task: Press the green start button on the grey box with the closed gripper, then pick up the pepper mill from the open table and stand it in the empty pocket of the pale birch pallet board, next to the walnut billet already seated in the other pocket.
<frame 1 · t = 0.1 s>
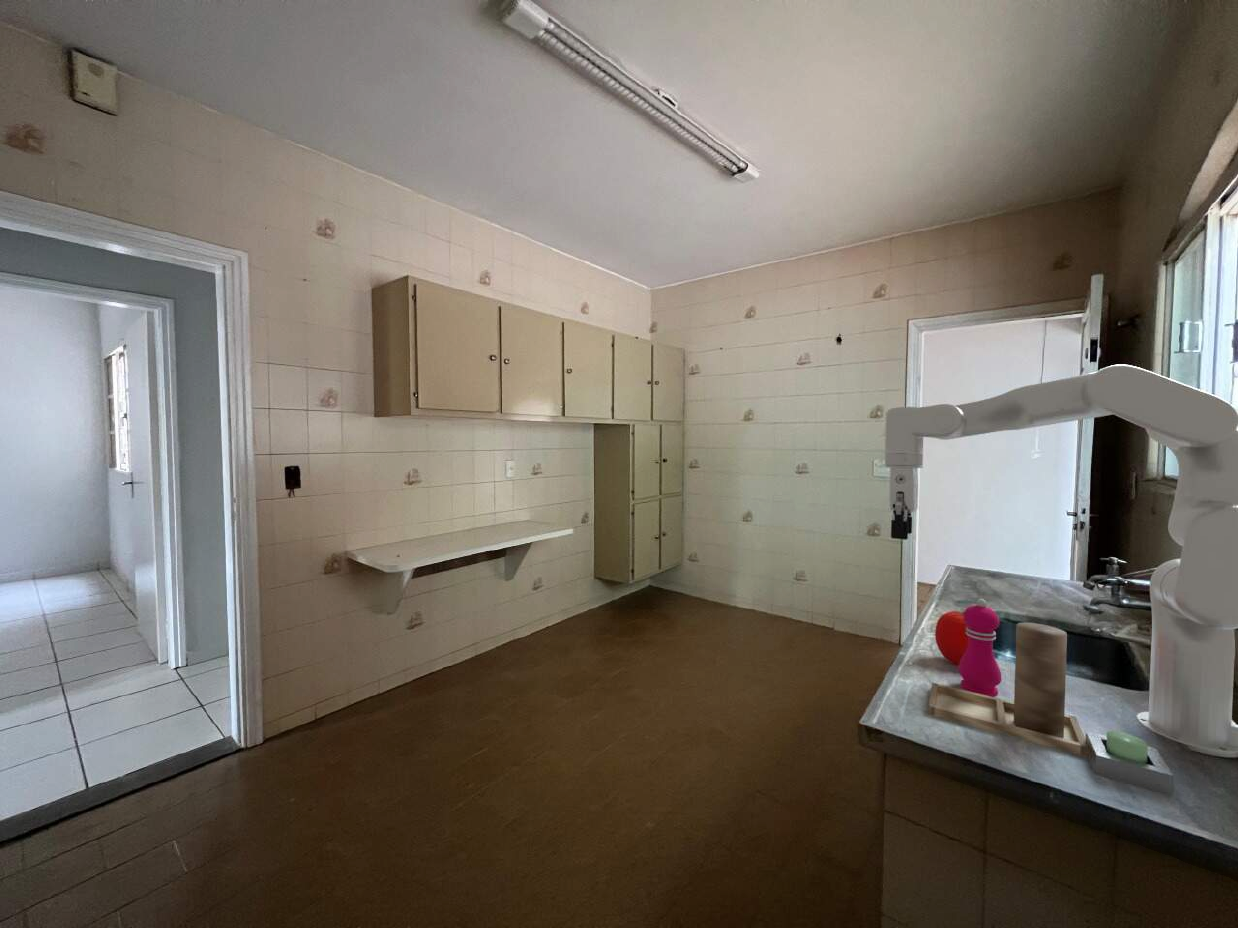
hand: (901, 535, 112), 31 cm above the worktop, tool pointing down, fingers open, 9 cm apart
button box: (1125, 776, 76), on the worktop
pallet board: (1000, 724, 90), on the worktop
seated billet: (1037, 728, 87), point 1 cm above the worktop, touching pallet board
start button: (1126, 751, 76), point 4 cm above the worktop, slide at 0.0 cm
pepper mill: (978, 694, 102), on the worktop
tomato: (961, 665, 116), on the worktop
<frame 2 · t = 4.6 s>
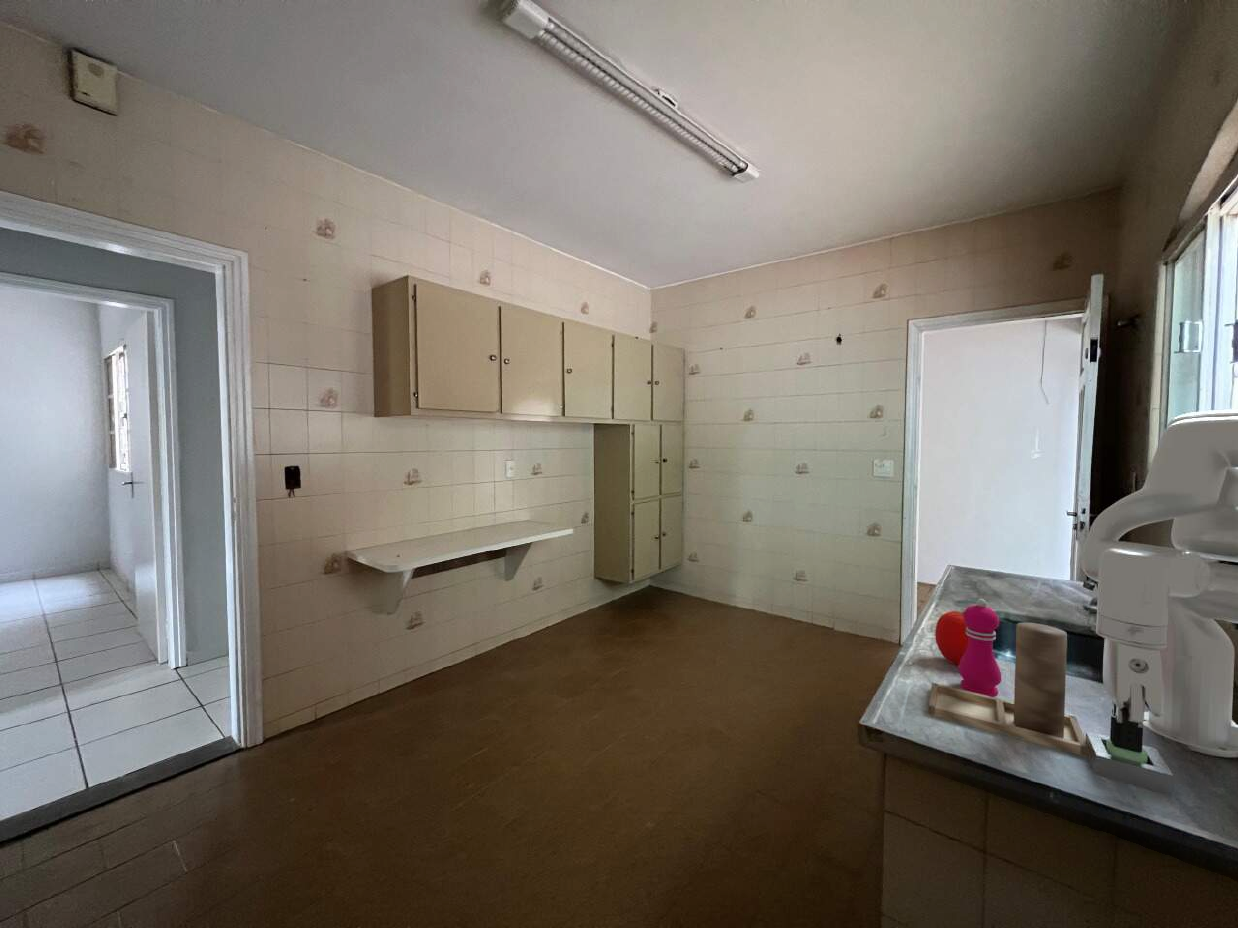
hand: (1125, 746, 75), 5 cm above the worktop, tool pointing down, fingers closed
start button: (1126, 759, 76), point 3 cm above the worktop, slide at 1.2 cm
everything else where it was.
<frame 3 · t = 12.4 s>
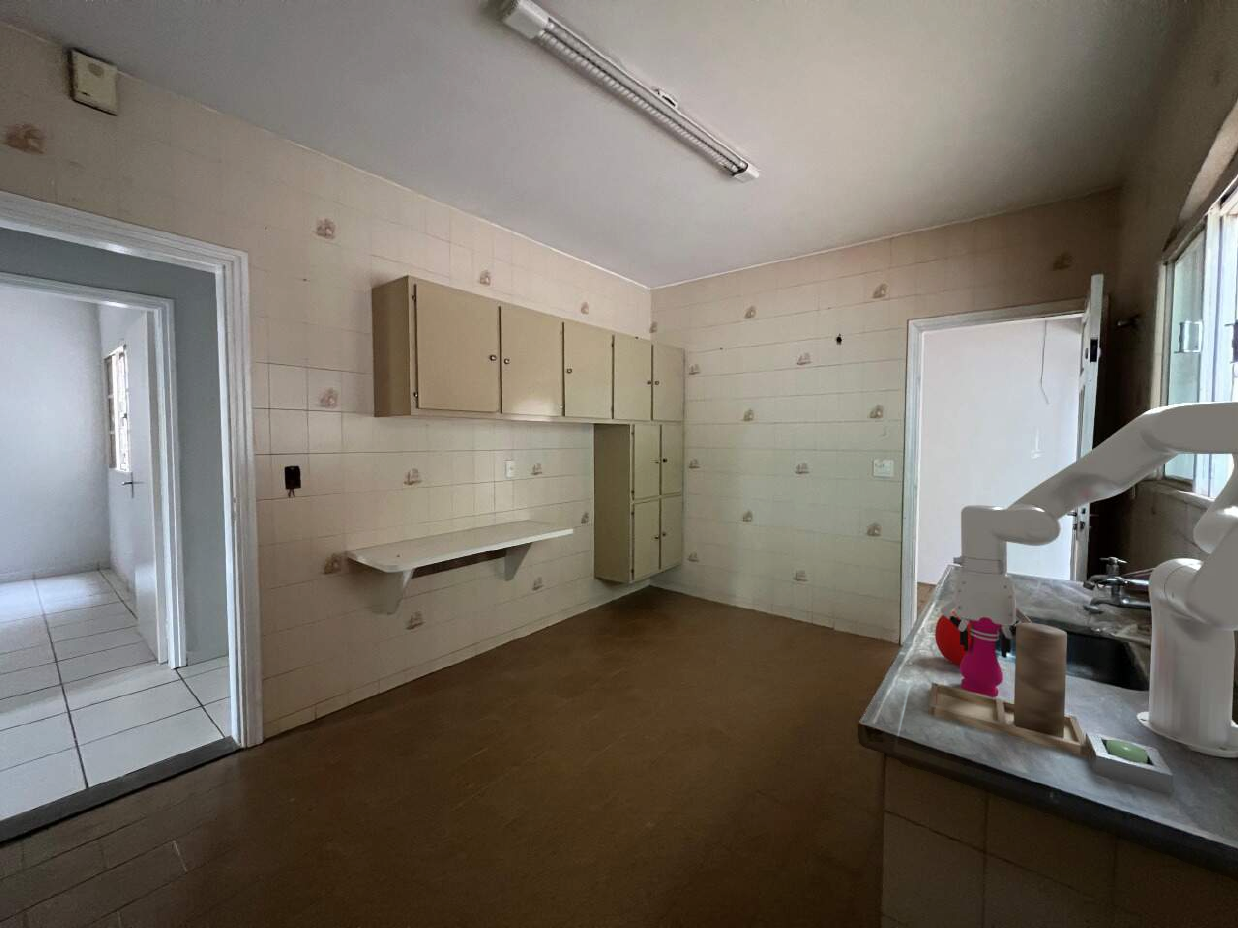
hand: (984, 651, 101), 9 cm above the worktop, tool pointing down, fingers open, 5 cm apart
nothing on the worktop moved.
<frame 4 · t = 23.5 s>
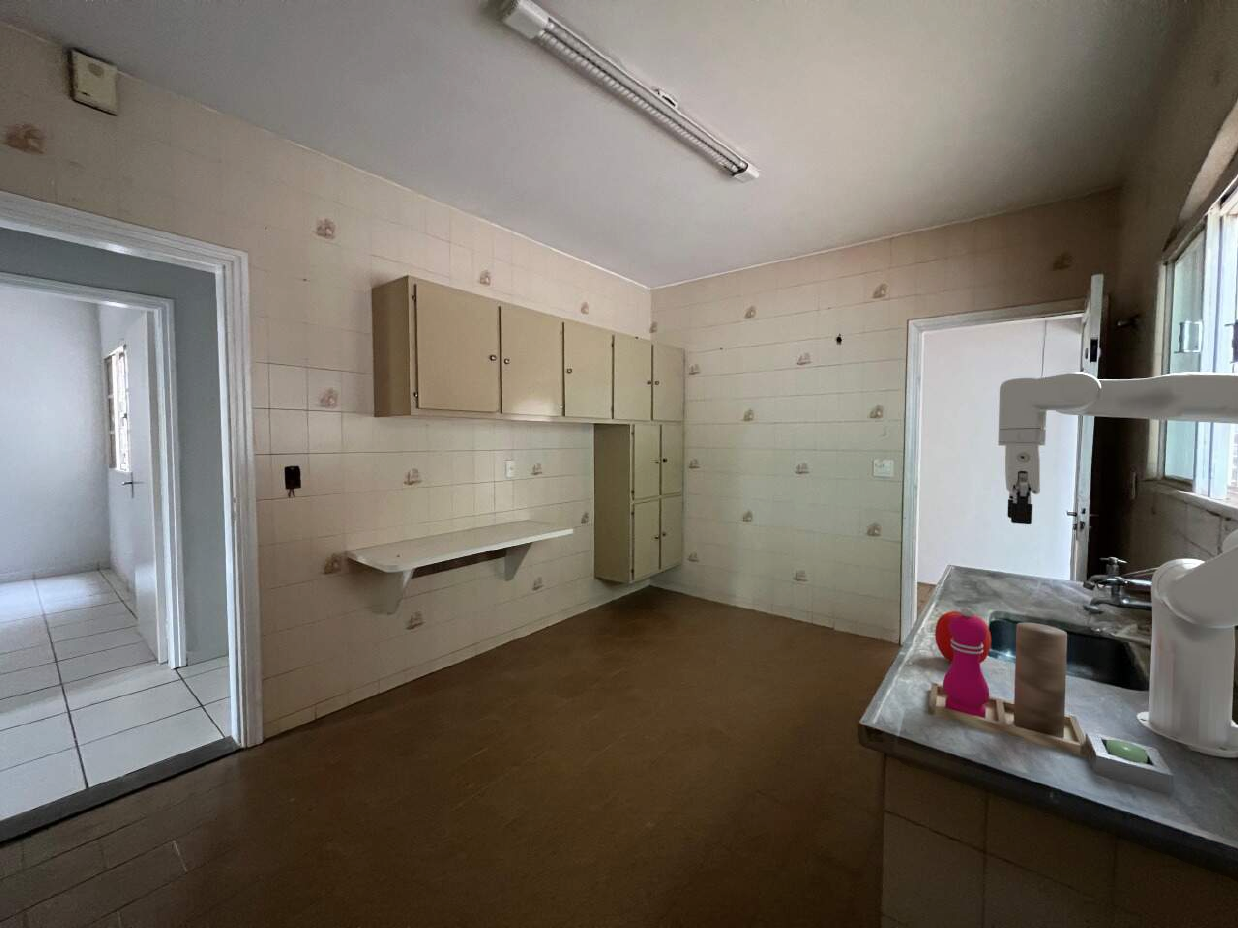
hand: (1018, 520, 101), 36 cm above the worktop, tool pointing down, fingers open, 9 cm apart
pepper mill: (964, 713, 92), point 1 cm above the worktop, touching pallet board
everything else where it was.
at the end: pepper mill 1.0 cm from the target spot on the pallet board, point 0.8 cm above the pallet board's base; pepper mill tilted 0°; start button slide at 1.4 cm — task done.
